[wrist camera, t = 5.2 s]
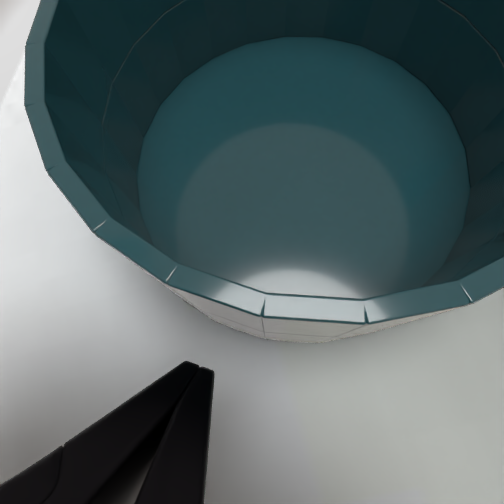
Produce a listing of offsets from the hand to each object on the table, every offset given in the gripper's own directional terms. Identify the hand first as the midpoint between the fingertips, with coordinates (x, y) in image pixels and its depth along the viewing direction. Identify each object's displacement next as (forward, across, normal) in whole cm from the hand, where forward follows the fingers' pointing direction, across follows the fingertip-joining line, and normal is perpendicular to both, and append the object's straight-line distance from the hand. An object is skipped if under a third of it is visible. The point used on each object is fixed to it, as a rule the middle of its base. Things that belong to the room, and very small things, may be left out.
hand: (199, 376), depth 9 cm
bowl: (+12, 0, -3) cm, 13 cm away
